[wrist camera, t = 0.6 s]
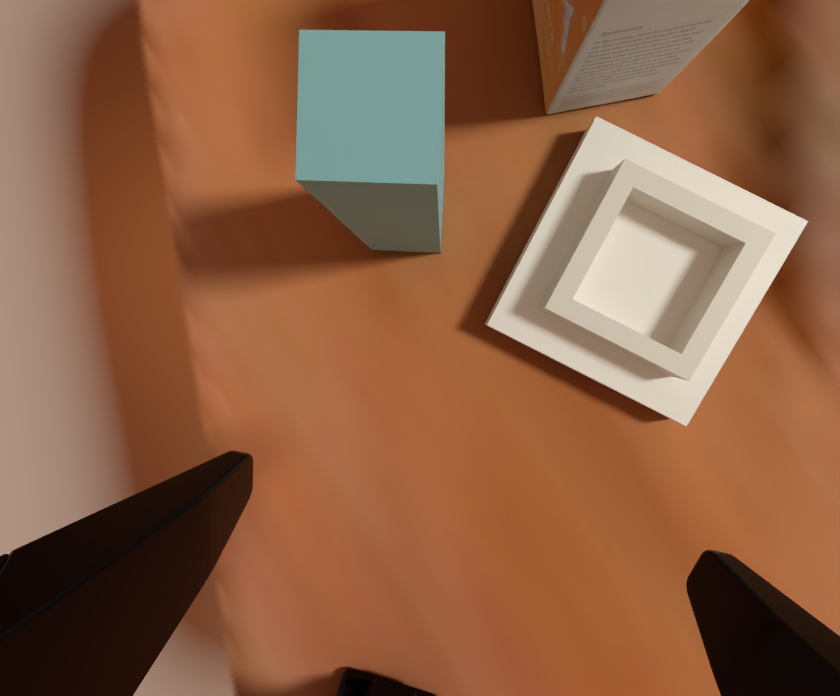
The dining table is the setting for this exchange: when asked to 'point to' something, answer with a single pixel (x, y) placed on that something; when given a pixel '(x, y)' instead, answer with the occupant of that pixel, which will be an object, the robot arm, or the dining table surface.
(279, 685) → the dining table surface
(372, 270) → the dining table surface
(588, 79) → the small box
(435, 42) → the pillar
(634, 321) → the plinth
